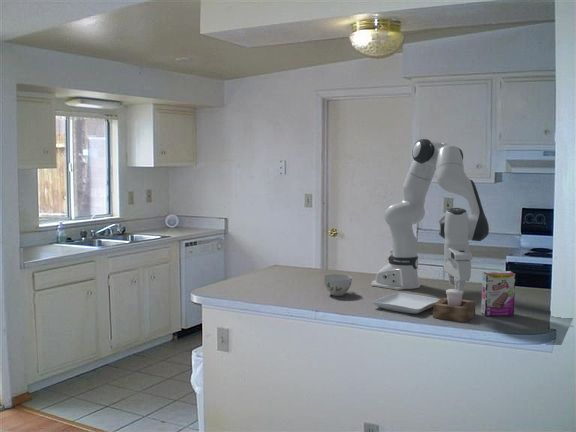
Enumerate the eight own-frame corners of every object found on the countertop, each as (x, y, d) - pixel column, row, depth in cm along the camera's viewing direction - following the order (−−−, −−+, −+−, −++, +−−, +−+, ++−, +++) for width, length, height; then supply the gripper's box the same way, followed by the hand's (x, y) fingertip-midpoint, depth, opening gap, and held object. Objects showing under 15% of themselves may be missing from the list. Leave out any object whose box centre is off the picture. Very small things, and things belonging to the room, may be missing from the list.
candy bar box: (485, 316, 227) (486, 273, 225) (480, 313, 232) (481, 271, 230) (514, 316, 228) (516, 273, 226) (509, 312, 233) (510, 270, 231)
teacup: (342, 299, 257) (342, 280, 256) (317, 295, 264) (317, 277, 264) (360, 292, 269) (360, 274, 268) (335, 289, 277) (335, 271, 276)
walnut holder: (432, 317, 227) (433, 304, 227) (442, 309, 238) (442, 297, 237) (466, 322, 221) (467, 308, 220) (475, 313, 231) (475, 301, 231)
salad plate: (396, 299, 258) (396, 291, 257) (443, 306, 244) (443, 298, 244) (370, 309, 241) (370, 301, 241) (418, 318, 228) (418, 309, 228)
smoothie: (451, 318, 225) (451, 281, 224) (442, 314, 231) (442, 278, 230) (466, 317, 227) (467, 280, 226) (457, 312, 233) (457, 277, 232)
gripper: (439, 247, 237) (439, 282, 238) (456, 256, 217) (456, 294, 218) (455, 247, 237) (455, 282, 239) (474, 255, 217) (473, 293, 218)
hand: (456, 288), depth 228 cm, fingers open, 8 cm apart
